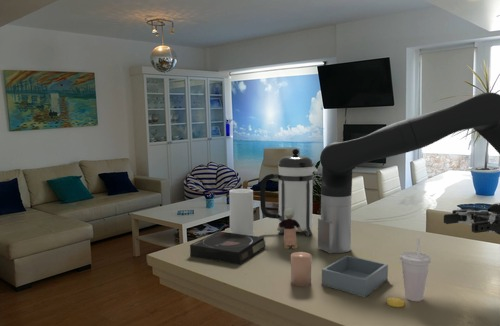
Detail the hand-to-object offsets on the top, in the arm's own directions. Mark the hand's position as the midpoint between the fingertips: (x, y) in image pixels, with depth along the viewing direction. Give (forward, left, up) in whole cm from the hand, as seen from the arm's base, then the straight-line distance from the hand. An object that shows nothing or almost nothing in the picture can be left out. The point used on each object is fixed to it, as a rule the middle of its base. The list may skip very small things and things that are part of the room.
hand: (458, 223), depth 95 cm
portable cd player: (-36, +51, -17) cm, 65 cm away
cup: (-25, +66, -16) cm, 72 cm away
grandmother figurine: (-17, +47, -16) cm, 53 cm away
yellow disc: (-17, +1, -16) cm, 24 cm away
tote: (-17, +15, -16) cm, 28 cm away
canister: (-29, +21, -16) cm, 39 cm away
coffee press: (-7, +62, -16) cm, 64 cm away
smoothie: (-11, +2, -16) cm, 20 cm away
